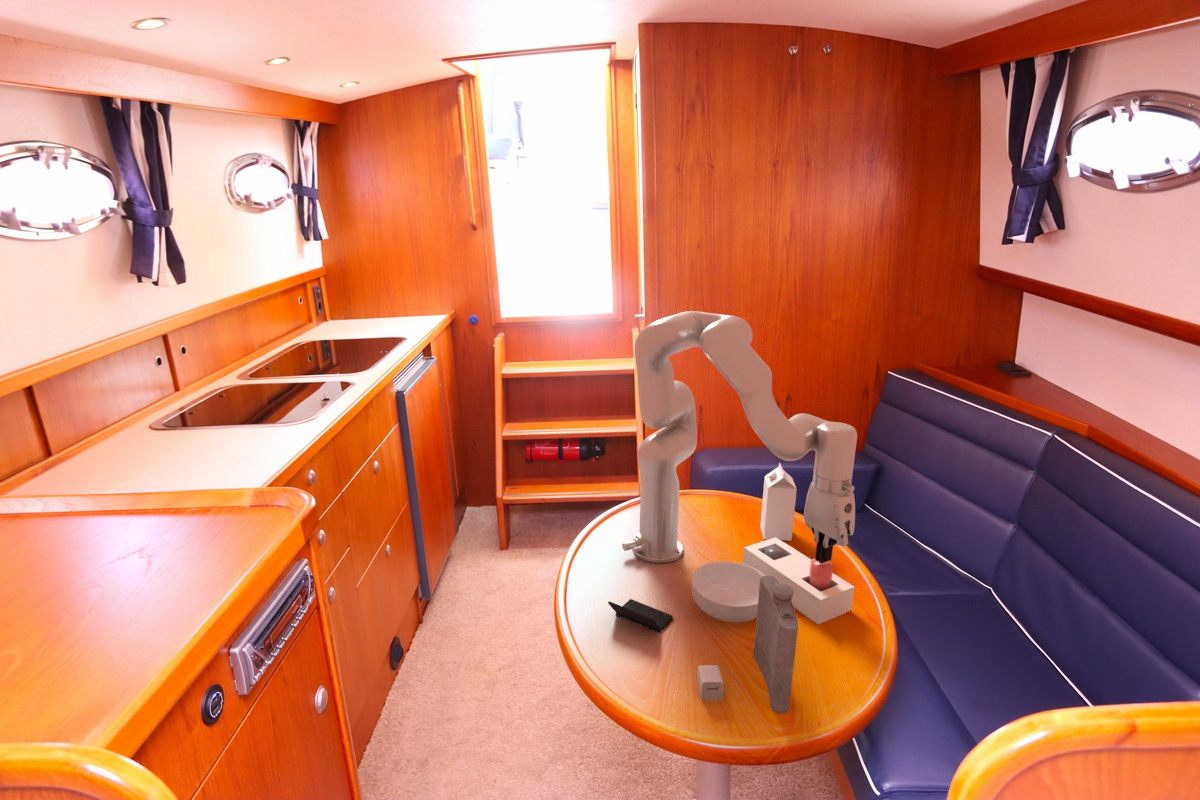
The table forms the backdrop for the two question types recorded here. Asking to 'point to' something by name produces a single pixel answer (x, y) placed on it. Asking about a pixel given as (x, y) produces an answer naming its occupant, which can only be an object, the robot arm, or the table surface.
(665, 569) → the table surface
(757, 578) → the cereal bowl
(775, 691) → the hip flask
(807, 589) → the box
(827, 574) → the red plunger
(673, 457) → the robot arm
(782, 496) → the milk carton
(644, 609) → the handheld gaming console
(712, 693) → the usb wall charger
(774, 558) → the grey rounded cylinder
